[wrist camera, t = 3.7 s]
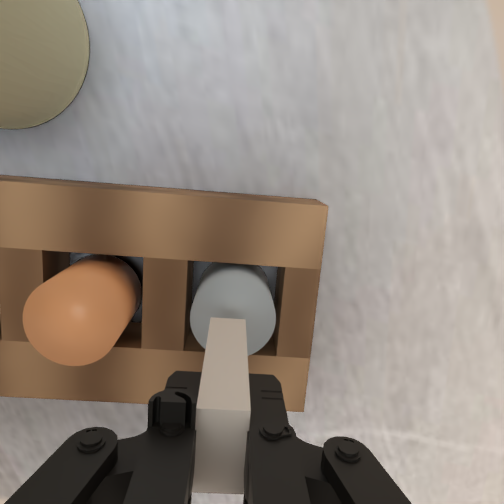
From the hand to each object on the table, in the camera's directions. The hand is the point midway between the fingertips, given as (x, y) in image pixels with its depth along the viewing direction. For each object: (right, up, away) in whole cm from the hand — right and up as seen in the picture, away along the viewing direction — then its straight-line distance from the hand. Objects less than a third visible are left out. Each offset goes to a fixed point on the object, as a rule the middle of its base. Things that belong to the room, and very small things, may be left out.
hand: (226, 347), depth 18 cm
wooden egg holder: (-7, +2, +8) cm, 11 cm away
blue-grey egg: (0, +2, +8) cm, 8 cm away
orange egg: (-7, +2, +6) cm, 10 cm away
